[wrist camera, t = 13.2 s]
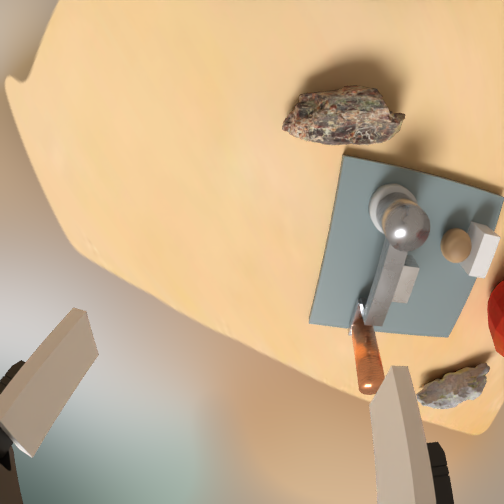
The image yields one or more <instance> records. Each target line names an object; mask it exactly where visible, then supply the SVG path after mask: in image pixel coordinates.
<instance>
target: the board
mask: <svg viewBox="0 0 504 504" xmlns="http://www.w3.org/2000/svg"><path fill="white" fill-rule="evenodd" d="M394 192H401V193H404V194H406V195H408V196H409V197H410V198H411V199H412V200H413V201H414V202H415V203H416V204H417V205H418V206H419V207H420V208H421V209H422V210H423V211H424V212H425V213H426V214H427V215H428V217H429V220H430V233H429V236H428V238H427V240H426V241H425V243H424V244H423V245H422V246H420V247H419V248H417V249H416V250H413V251H409V252H408V253H407V255H412V256H413V258H414V259H415V261H416V263H417V264H418V266H419V267H420V269H419V272H418V275H417V278H416V281H415V283H414V286H413V289H412V292H411V294H410V297H409V300H408V302H407V303H398V302H391V305H390V307H389V310H388V313H387V315H386V318H385V321H384V323H383V326H373V327H374V331H376V332H386V333H397V334H408V335H420V336H433V337H449V335H450V333H451V331H452V329H453V327H454V325H455V323H456V321H457V319H458V317H459V315H460V313H461V311H462V309H463V307H464V305H465V303H466V301H467V299H468V296H469V294H470V292H471V290H472V287H473V285H474V283H475V280H476V278H477V277H480V278H485V276H486V274H487V272H488V269H489V267H490V264H491V262H492V259H493V257H494V254H495V251H496V249H497V246H498V243H499V240H500V237H499V236H498V235H497V234H496V233H495V232H494V230H495V227H496V224H497V221H498V218H499V215H500V211H501V208H502V204H503V201H504V197H502V196H501V195H498V194H495V193H492V192H489V191H486V190H483V189H480V188H477V187H474V186H470V185H467V184H464V183H461V182H457V181H454V180H450V179H447V178H443V177H440V176H436V175H432V174H428V173H425V172H421V171H417V170H413V169H409V168H404V167H400V166H396V165H392V164H387V163H383V162H378V161H373V160H368V159H364V158H358V157H353V156H348V155H343V156H342V162H341V168H340V174H339V180H338V186H337V191H336V197H335V202H334V207H333V213H332V218H331V223H330V228H329V233H328V237H327V242H326V247H325V252H324V256H323V261H322V265H321V270H320V274H319V279H318V283H317V287H316V291H315V296H314V300H313V304H312V308H311V312H310V316H309V324H317V325H324V326H332V327H340V328H348V327H349V324H350V321H351V318H352V315H353V312H354V308H355V305H356V302H357V299H361V297H362V298H368V296H369V293H370V290H371V287H372V284H373V280H374V277H375V273H376V270H377V266H378V263H379V259H380V256H381V252H382V248H383V245H384V241H385V237H386V236H385V234H384V232H383V231H382V229H381V227H380V226H379V224H378V222H377V219H376V209H377V206H378V204H379V202H380V201H381V199H382V198H383V197H385V196H386V195H388V194H390V193H394ZM453 228H459V229H462V230H464V231H465V232H466V233H467V234H468V235H469V237H470V239H471V243H472V248H471V252H470V255H469V256H468V258H467V259H466V260H464V261H463V262H460V263H452V262H450V261H448V260H447V259H446V258H445V257H444V256H443V254H442V252H441V246H440V244H441V239H442V237H443V235H444V234H445V233H446V232H447V231H448V230H450V229H453Z"/></svg>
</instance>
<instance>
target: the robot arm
mask: <svg viewBox="0 0 504 504" xmlns="http://www.w3.org/2000/svg"><path fill="white" fill-rule="evenodd" d="M98 355H99V354H98V351H97V347H96V344H95V341H94V338H93V334H92V330H91V327H90V323H89V320H88V316H87V312H86V311H83V310H80V309H77V308H73V309H72V310H71V311H70V312H69V313H68V314H67V315H66V317H65V318H64V319H63V320H62V321H61V322H60V323H59V324H58V325H57V326H56V328H55V329H54V330H53V331H52V332H51V333H50V334H49V336H48V337H47V338H46V339H45V340H44V341H43V342H42V344H41V345H40V346H39V347H38V348H37V349H36V351H35V352H34V353H33V354H32V355H31V357H30V358H29V359H28V360H27V361H26V362H24V361H22V360H21V361H19V362H18V363H16V364H15V365H13V366H12V367H11V368H10V369H9V370H8V372H7V373H6V374H5V376H4V377H3V378H2V379H1V380H0V504H23V501H22V497H21V493H20V487H19V483H18V477H17V471H16V466H15V459H14V452H13V449H12V446H11V445H12V444H13V443H14V444H15V445H16V446H17V447H18V448H19V449H20V450H22V451H23V452H25V453H26V454H28V455H29V456H31V457H32V458H33V456H34V455H35V453H36V451H37V449H38V448H39V446H40V444H41V443H42V441H43V439H44V438H45V436H46V434H47V433H48V431H49V430H50V428H51V426H52V424H53V423H54V421H55V420H56V418H57V417H58V415H59V413H60V412H61V411H62V409H63V407H64V406H65V404H66V403H67V401H68V399H69V398H70V397H71V395H72V394H73V392H74V390H75V389H76V387H77V386H78V384H79V383H80V381H81V380H82V378H83V377H84V375H85V374H86V372H87V371H88V370H89V368H90V367H91V365H92V364H93V362H94V361H95V359H96V358H97V356H98ZM369 407H370V415H371V424H372V433H373V444H374V455H375V468H376V484H377V504H454V500H453V494H452V488H451V482H450V477H449V476H448V474H449V471H448V467H447V461H446V457H445V453H444V451H443V449H442V448H441V446H440V444H439V443H438V442H433V443H426V439H425V434H424V429H423V425H422V420H421V416H420V411H419V407H418V403H417V399H416V395H415V391H414V387H413V384H412V380H411V376H410V373H409V369H408V366H391V368H390V370H389V371H388V373H387V375H386V377H385V379H384V381H383V382H382V384H381V386H380V388H379V389H378V391H377V393H376V395H375V396H374V398H373V400H372V401H371V403H370V405H369Z"/></svg>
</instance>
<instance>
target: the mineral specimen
mask: <svg viewBox="0 0 504 504" xmlns="http://www.w3.org/2000/svg"><path fill="white" fill-rule="evenodd" d="M489 369H490V367H489V366H488V365H487V364H486V363H482V364H479V365H477V366H476V368H470V367H466V368H463V369H460V370H457V371H456V372H454V373H447V374H445V375H444V376H443V378H442V379H441V380H440V379H435V380H434V381H433V382H430V383H428V384H425V385H424V388H423V389H422V390H421V391H420V392H418V393H417V394H416V396H417V400H418V402H420V403H421V404H422V405H423V406H429V407H432V408H437V409H439V408H440V409H448V408H453V407H455V406H457V405H458V403H461V402H463V401H466V400H467V399H468V400H469V399H470V400H474V399H476V398H477V397H478V396H480V394H481V393H482V391H483V388H484V387H485V384H486V379H487V378H486V376H485V375H486V374H487V373H488V372H489Z"/></svg>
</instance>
